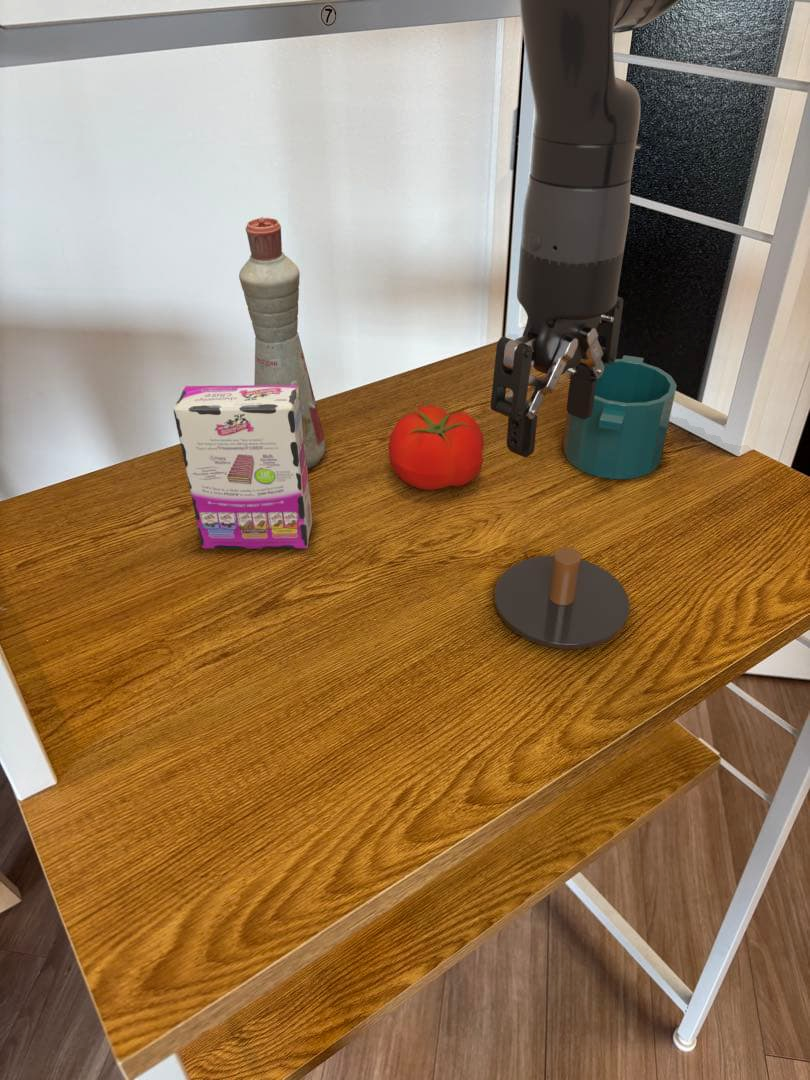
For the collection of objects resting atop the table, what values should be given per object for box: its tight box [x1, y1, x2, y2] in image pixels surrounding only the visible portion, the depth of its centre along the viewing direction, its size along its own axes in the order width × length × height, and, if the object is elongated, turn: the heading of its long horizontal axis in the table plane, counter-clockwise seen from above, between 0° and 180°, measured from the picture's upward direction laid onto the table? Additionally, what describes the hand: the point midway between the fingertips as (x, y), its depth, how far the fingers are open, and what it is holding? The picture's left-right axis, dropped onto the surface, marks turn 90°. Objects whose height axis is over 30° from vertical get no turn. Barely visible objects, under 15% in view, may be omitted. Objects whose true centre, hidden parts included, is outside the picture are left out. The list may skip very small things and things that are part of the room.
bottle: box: [238, 216, 326, 470], centre depth 90 cm, size 9×9×28 cm
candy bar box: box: [173, 384, 314, 550], centre depth 82 cm, size 11×5×16 cm, turn 89°
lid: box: [493, 546, 631, 650], centre depth 76 cm, size 12×12×6 cm
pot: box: [562, 354, 678, 480], centre depth 96 cm, size 11×17×10 cm
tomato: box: [387, 405, 485, 491], centre depth 93 cm, size 11×11×8 cm
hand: (550, 433), depth 71 cm, fingers open, 8 cm apart
